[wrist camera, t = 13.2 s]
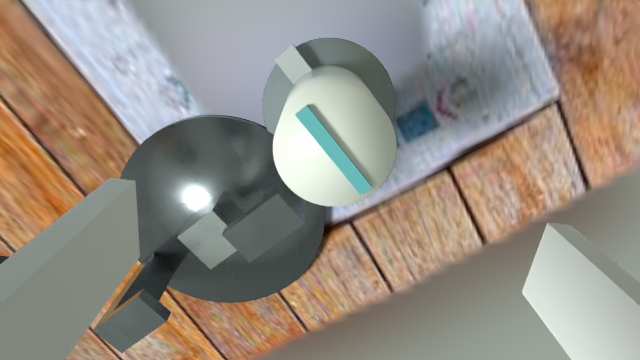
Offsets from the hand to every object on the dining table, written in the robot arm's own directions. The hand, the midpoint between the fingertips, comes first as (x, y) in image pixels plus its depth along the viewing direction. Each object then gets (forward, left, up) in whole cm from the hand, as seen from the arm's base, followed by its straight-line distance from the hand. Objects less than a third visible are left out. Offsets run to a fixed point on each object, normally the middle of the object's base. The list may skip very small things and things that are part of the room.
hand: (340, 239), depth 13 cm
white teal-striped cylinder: (0, 0, -22) cm, 22 cm away
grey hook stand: (+14, +2, -23) cm, 27 cm away
